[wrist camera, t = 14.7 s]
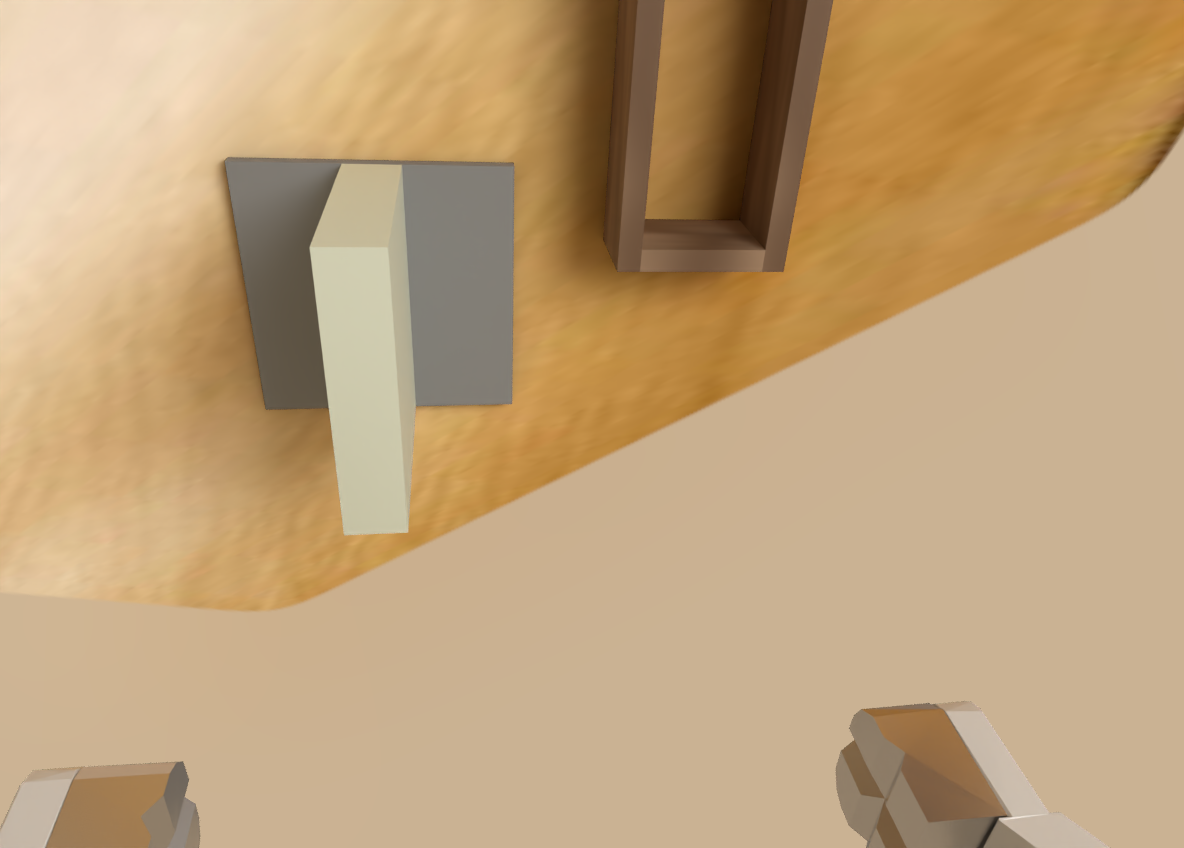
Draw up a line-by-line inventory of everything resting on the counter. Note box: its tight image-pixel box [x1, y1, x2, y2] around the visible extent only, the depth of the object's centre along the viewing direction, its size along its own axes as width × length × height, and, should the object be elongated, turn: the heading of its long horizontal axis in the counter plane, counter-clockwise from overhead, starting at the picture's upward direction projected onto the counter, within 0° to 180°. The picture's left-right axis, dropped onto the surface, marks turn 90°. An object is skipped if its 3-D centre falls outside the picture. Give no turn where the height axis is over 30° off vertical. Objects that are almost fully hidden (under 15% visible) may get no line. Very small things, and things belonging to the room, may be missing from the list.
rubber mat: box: [225, 157, 514, 410], centre depth 40 cm, size 12×12×1 cm
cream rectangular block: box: [310, 164, 416, 535], centre depth 36 cm, size 2×12×10 cm, turn 177°
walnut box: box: [603, 0, 833, 272], centre depth 35 cm, size 8×17×4 cm, turn 177°
